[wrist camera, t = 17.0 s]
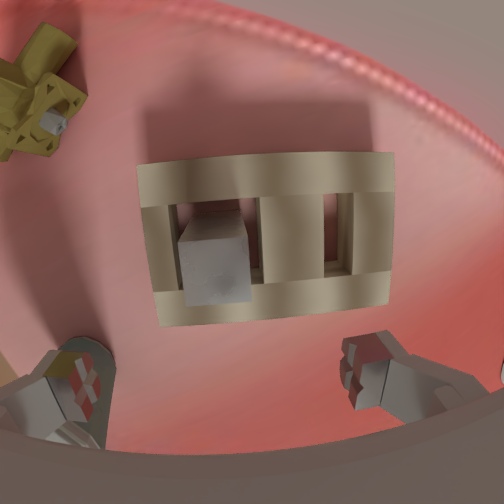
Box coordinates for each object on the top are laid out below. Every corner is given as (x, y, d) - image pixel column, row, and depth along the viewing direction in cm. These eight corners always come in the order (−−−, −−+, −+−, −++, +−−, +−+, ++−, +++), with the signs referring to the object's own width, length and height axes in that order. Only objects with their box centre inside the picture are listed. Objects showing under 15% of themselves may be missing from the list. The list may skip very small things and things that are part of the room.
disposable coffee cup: (99, 304, 29) (30, 402, 15) (155, 384, 32) (129, 496, 18) (35, 337, 30) (-33, 420, 16) (88, 406, 33) (49, 499, 19)
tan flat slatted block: (373, 152, 27) (394, 152, 24) (370, 287, 31) (388, 303, 27) (148, 164, 26) (136, 165, 22) (167, 306, 30) (159, 327, 26)
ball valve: (-3, 142, 25) (50, 190, 25) (-72, 131, 14) (-26, 189, 15) (60, 38, 23) (124, 71, 24) (5, -4, 13) (70, 20, 14)
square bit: (240, 209, 28) (247, 236, 18) (243, 254, 29) (252, 301, 20) (193, 213, 28) (177, 242, 18) (198, 257, 29) (186, 306, 19)
